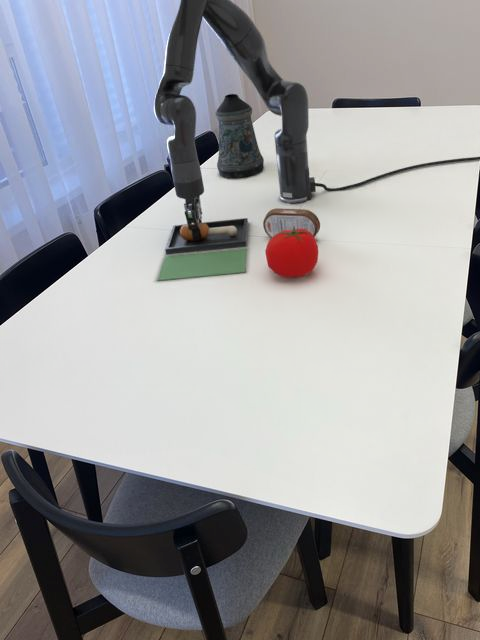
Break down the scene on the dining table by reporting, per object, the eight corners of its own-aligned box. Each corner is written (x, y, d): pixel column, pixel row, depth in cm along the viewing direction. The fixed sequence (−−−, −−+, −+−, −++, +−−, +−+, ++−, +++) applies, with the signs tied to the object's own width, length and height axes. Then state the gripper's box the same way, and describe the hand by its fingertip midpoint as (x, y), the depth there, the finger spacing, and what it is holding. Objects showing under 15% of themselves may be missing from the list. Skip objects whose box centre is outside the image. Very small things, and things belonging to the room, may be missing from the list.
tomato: (304, 289, 131) (300, 246, 125) (258, 280, 137) (253, 239, 131) (330, 263, 140) (328, 222, 134) (286, 256, 146) (282, 216, 140)
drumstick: (238, 231, 161) (235, 216, 158) (237, 238, 157) (234, 222, 154) (182, 237, 162) (179, 221, 159) (180, 244, 158) (177, 228, 155)
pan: (248, 223, 165) (247, 217, 164) (246, 247, 152) (245, 241, 151) (174, 231, 167) (173, 225, 166) (166, 255, 154) (165, 249, 153)
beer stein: (238, 182, 194) (227, 104, 180) (204, 172, 207) (191, 99, 193) (274, 168, 202) (266, 92, 188) (239, 159, 215) (229, 87, 201)
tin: (321, 238, 152) (319, 208, 147) (318, 243, 149) (316, 213, 145) (267, 236, 157) (264, 206, 152) (263, 241, 154) (260, 211, 149)
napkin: (247, 249, 151) (247, 248, 151) (245, 272, 141) (245, 271, 141) (165, 257, 153) (164, 256, 153) (157, 281, 142) (157, 280, 142)
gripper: (198, 184, 143) (209, 247, 153) (204, 166, 155) (214, 225, 165) (169, 187, 144) (182, 249, 154) (176, 169, 156) (188, 227, 165)
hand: (198, 236), depth 159 cm, fingers closed on drumstick, 4 cm apart
